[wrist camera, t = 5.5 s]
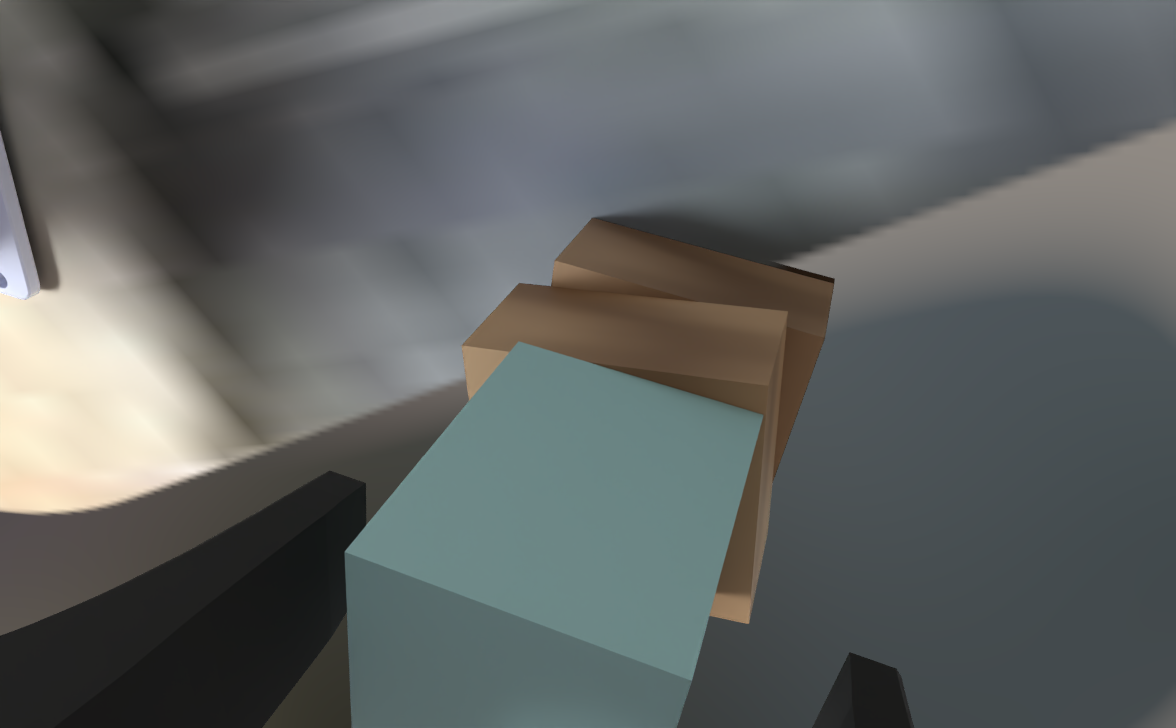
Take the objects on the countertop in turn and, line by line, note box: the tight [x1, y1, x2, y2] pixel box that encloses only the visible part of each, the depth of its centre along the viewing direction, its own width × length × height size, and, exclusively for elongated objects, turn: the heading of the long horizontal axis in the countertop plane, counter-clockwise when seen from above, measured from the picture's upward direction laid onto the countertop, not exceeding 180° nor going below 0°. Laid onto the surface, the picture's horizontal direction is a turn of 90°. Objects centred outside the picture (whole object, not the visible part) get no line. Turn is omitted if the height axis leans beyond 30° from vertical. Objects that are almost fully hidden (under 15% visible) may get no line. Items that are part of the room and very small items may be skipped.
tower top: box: [462, 283, 788, 624], centre depth 15 cm, size 5×5×2 cm
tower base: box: [551, 218, 835, 483], centre depth 17 cm, size 5×5×2 cm
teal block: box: [345, 341, 763, 728], centre depth 12 cm, size 4×4×5 cm
